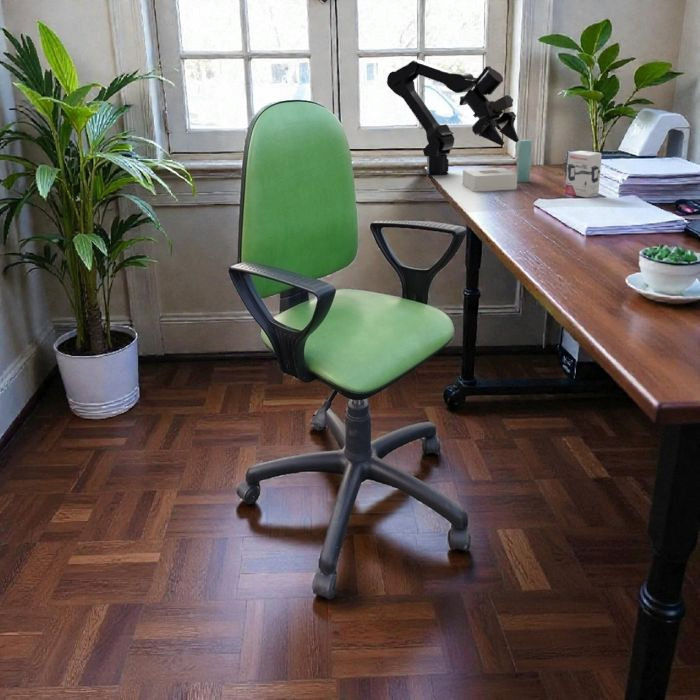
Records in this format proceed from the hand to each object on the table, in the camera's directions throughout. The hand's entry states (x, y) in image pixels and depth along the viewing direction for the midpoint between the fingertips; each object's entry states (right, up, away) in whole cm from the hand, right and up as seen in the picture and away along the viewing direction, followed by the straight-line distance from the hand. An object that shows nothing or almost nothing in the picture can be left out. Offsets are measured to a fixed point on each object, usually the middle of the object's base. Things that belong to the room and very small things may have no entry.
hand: (510, 143), depth 238 cm
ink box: (+16, -21, -22) cm, 34 cm away
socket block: (-8, -15, -6) cm, 18 cm away
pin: (+4, -12, +1) cm, 13 cm away
